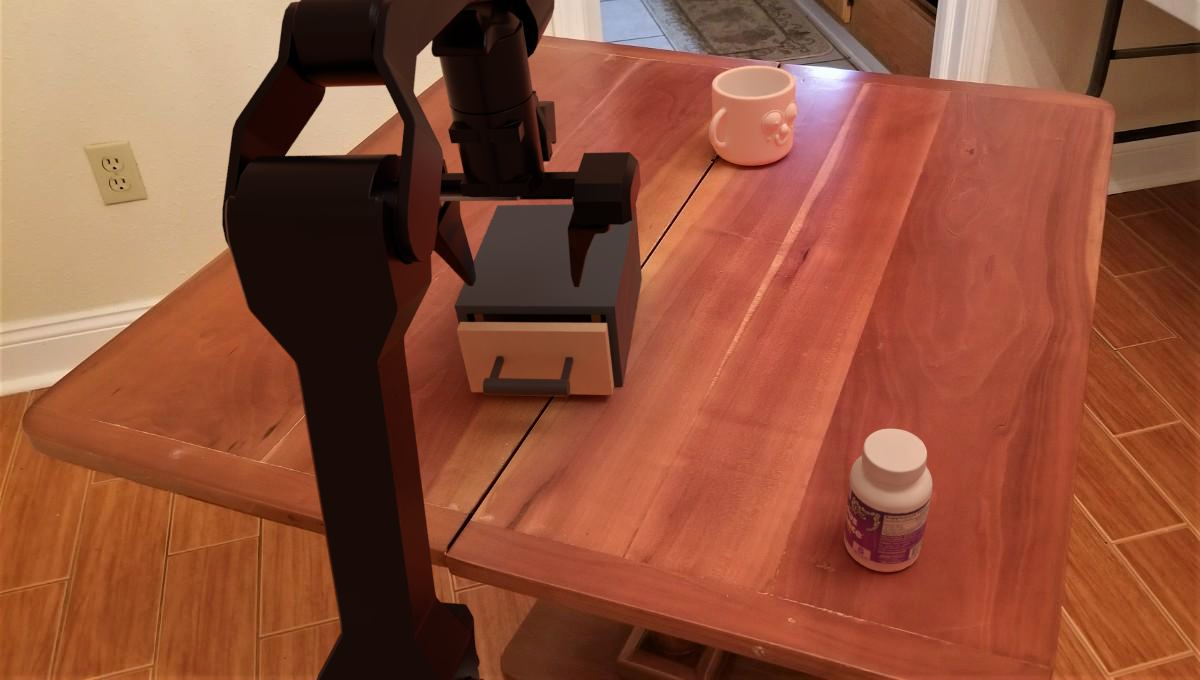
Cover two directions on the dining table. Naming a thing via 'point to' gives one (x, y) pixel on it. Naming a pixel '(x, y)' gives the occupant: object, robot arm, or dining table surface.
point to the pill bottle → (888, 501)
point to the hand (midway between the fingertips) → (524, 283)
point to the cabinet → (556, 273)
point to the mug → (753, 114)
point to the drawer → (537, 354)
